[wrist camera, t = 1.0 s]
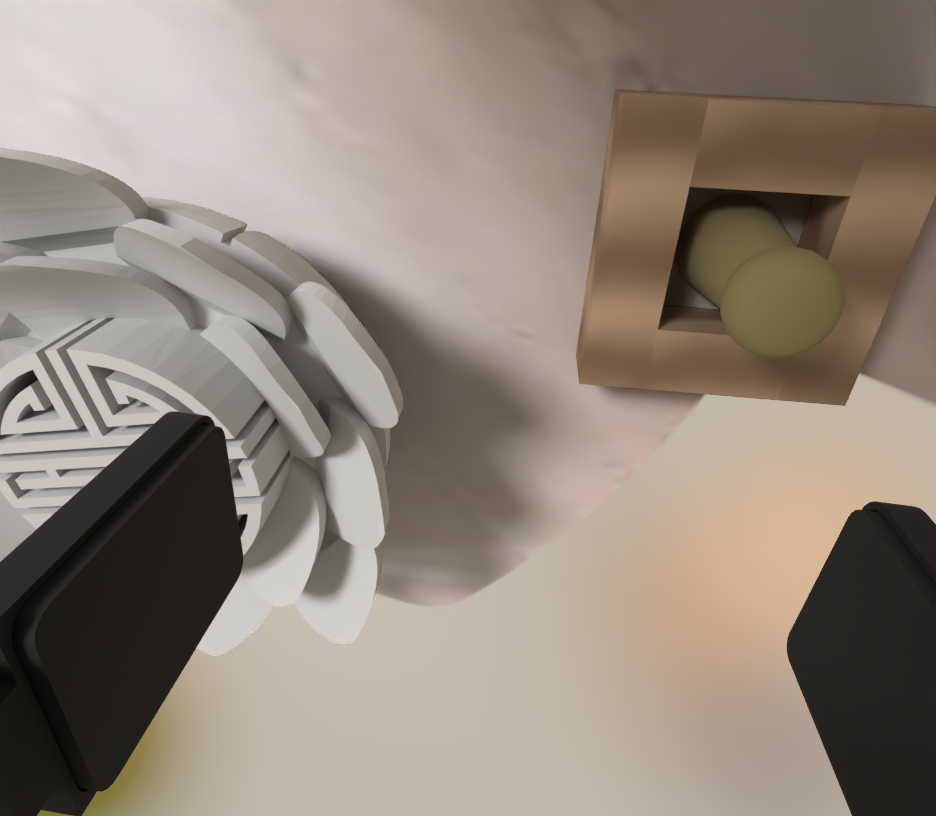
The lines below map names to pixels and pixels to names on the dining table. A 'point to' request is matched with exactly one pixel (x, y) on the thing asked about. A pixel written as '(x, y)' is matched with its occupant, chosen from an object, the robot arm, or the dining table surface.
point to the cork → (759, 277)
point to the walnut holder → (757, 169)
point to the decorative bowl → (192, 382)
